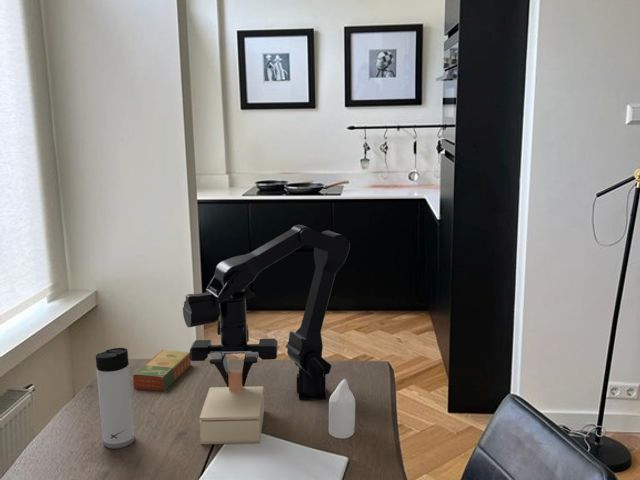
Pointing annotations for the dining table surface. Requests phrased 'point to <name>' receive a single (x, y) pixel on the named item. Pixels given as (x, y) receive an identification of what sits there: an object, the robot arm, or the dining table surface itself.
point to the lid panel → (233, 400)
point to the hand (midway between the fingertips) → (236, 385)
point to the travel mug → (115, 398)
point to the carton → (161, 370)
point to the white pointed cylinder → (342, 412)
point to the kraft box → (232, 430)
